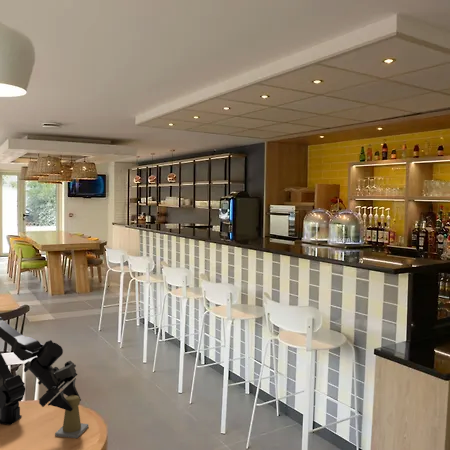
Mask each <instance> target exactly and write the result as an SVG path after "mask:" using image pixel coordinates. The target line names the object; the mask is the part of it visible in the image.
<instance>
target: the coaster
mask: <svg viewBox="0 0 450 450" xmlns="http://www.w3.org/2000/svg"><path fill="white" fill-rule="evenodd" d="M88 428H89V423H82V422H81V428H80V429H79V430H78V431H75V432H64V431H63V425H62V426H61V427H60V428H59V429H58V430H57V431H56V432H55V433H54V436H55V437H61V438H72V439H79V437H80V436H82V434H83V433H84V432H85V431H86V430H87V429H88Z"/></svg>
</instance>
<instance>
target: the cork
mask: <svg viewBox="0 0 450 450" xmlns="http://www.w3.org/2000/svg"><path fill="white" fill-rule="evenodd" d="M79 396H80V395H79ZM79 396H77V395H70V396H67V395H66V397H65V399H66V400H67V401H68V403H69V404H70V405H71V407H72V408H73V410H72V411H68V410H65V409H64V416H63V422H62V426H63V431H64V432H75V431H78V430H79V429H80V428H81V423H82V422H81V418H80V417H81V416H80V410H79V405H80V404H81V401H80V399H81V397H80V398H79Z"/></svg>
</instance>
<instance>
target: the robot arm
mask: <svg viewBox="0 0 450 450" xmlns="http://www.w3.org/2000/svg"><path fill="white" fill-rule="evenodd" d="M0 339H2V340H3V341H4V342H5V343H6V344H7V345H9V346H11V348H12V352H13V354H14V355H15V356H16V358H17V359H19V360H20V361H22V362H24V361H27V360H28V361H27V362H25V363H24V367H23V372H24V373H26V372H29V371H30V372H31V373H32V375H34V377H35V378H36V379H37V380H38V382H37V384H38V385H39V386H40V385H43V386H44V387H45V388H46V389H47V390H46V392H45V393H44V394H43V395H42V396H41V397H40V398H39V400H38V403H39V405H40V406H41V407H42V408H44V407H45V406H46V405H47V406H48V407H49V406H52V407H56V408H59V409H63V410H64V411H65V410H68V411H72V410H73V408H72V407H71V405H70V404H69V403H68V401H67V400H66V399H65V398H66V397H67V396H70V395H77V396H79V398H80V402H81V401H82V398H81V397H80V394H79V392H78V390H77V387H76V380H77V379H76V377H78V373H77V370H76V367H77V365H76V364H75V363H74V362H72V361H71V360H68V361H66V362H65V363H64V366H63V367H61V368H58V367H59V366H58V367H57V366H55V367H53V365H54V363H56V361H58V360H59V359H60V357H62V356H63V353H64V350H63V347H62V346H61V345H60V344H59V343H56V342H54V341H53V340H51V339H50V340H47V341H46V342H45V343H44V344H43V343H41V342H40V341H39V340H37V339H35V338H33V337H31V336H27V335H23V334H22V333H20V332H19V331H18V330H17V329H15V328H13V327H12V326H11V325H10V324H8V322H6V321H4V318H3V317H1V316H0ZM30 359H31V360H30ZM29 360H30V361H29ZM61 389H62V390H61ZM60 390H61V391H60ZM25 394H26V387H25V382H24V381H23V379H22V377H21V375H20V374H17V375H14V374H13V373H12V372H11V370H10V368H9V366H8V364H7V362H6V360H5V359H4V357H3V355H2V353H1V351H0V425H8V426H11V425H13V424H15V423H16V422H17V421H18V420H20V419H21V418H22V417H23V416H22V415H21V407H20V402H21V401H23V400H24V396H25ZM64 395H65V396H66V397H65V396H64Z"/></svg>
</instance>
